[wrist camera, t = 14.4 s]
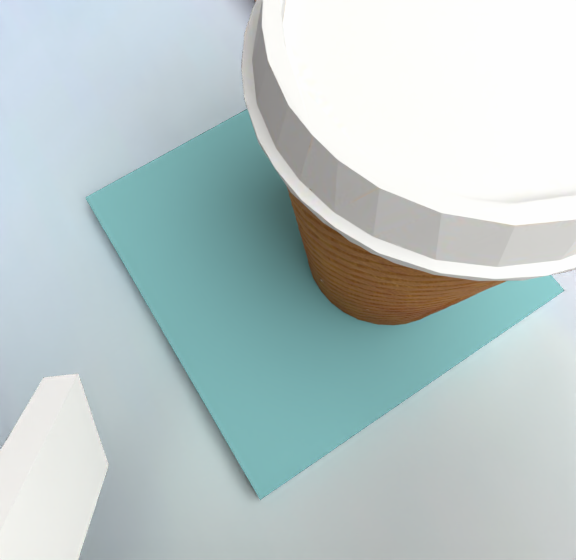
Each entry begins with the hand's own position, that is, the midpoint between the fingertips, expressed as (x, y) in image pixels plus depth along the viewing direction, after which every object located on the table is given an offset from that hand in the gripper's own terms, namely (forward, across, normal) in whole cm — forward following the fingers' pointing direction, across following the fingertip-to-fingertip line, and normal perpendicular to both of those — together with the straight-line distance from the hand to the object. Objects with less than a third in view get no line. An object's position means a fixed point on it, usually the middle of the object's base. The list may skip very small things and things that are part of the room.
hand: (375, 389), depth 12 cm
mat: (+11, 0, -1) cm, 11 cm away
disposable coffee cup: (+10, +2, -1) cm, 10 cm away
